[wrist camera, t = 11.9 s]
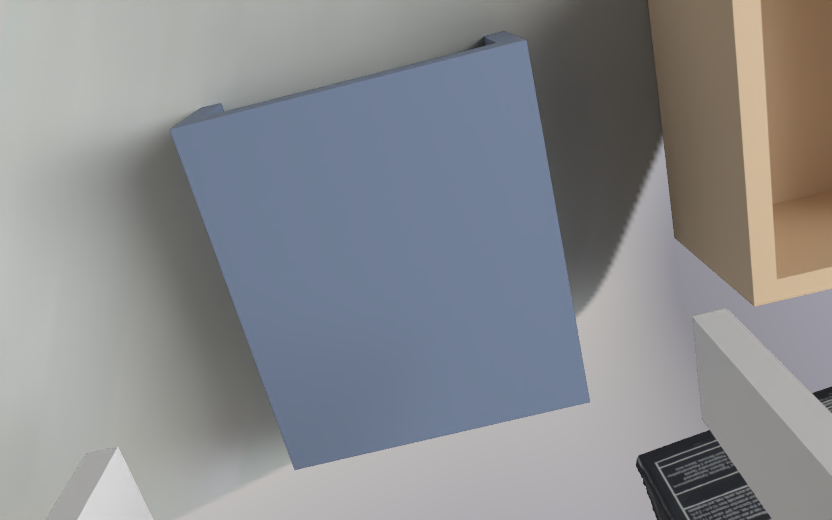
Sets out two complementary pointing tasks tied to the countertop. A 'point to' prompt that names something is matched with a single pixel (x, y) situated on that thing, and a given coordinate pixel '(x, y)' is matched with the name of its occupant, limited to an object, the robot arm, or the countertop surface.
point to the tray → (749, 138)
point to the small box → (701, 480)
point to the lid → (393, 251)
